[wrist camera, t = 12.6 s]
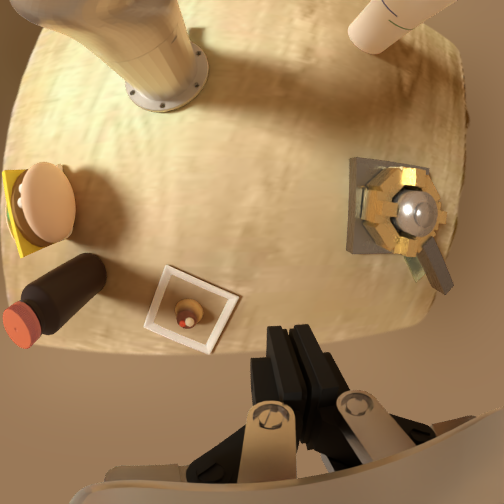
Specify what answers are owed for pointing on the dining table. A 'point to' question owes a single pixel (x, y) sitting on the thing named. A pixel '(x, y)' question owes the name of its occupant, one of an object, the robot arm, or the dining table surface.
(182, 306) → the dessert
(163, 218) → the dining table surface
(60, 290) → the bottle
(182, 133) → the dining table surface
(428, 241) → the ring nut
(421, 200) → the housing
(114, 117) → the dining table surface
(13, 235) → the hamburger
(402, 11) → the cylindrical container
